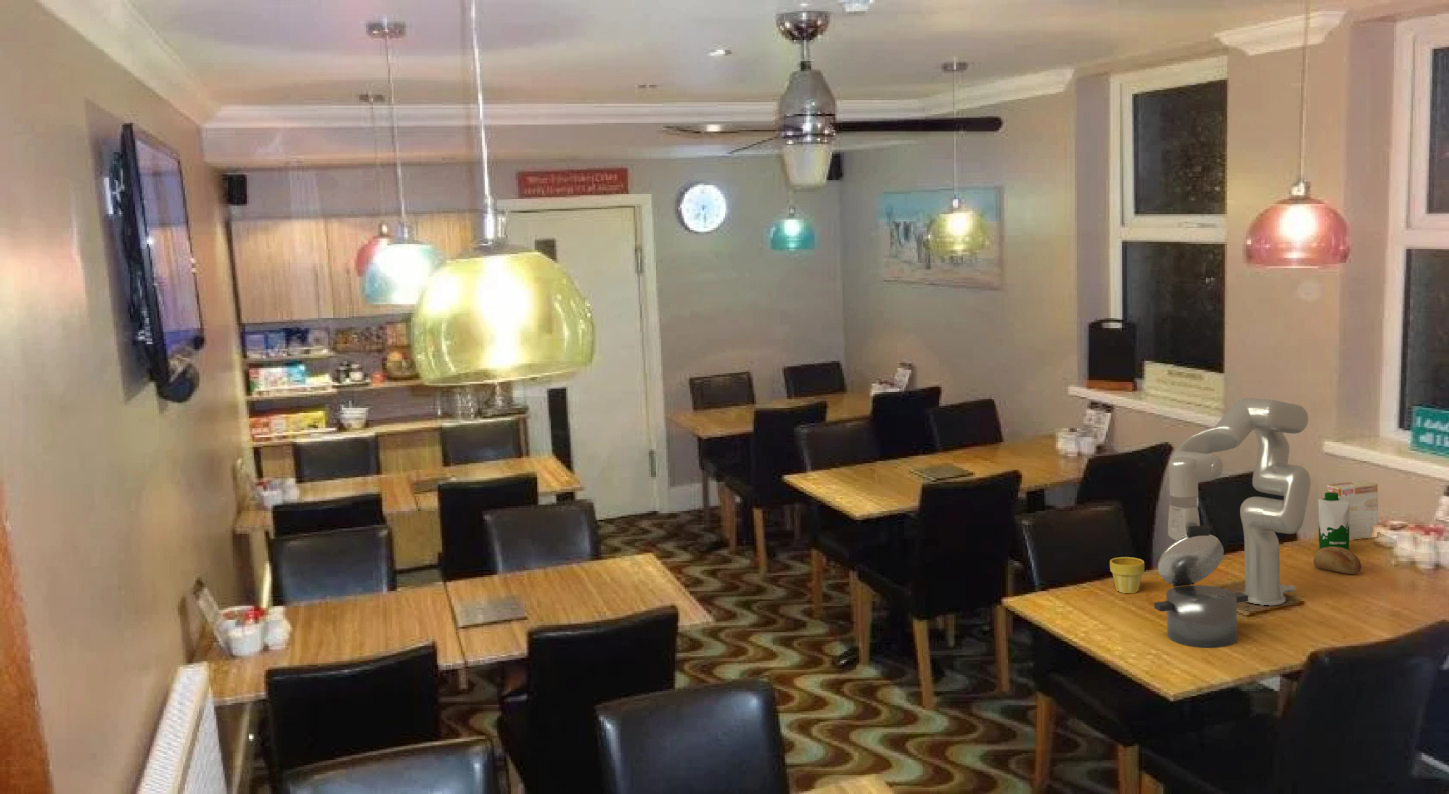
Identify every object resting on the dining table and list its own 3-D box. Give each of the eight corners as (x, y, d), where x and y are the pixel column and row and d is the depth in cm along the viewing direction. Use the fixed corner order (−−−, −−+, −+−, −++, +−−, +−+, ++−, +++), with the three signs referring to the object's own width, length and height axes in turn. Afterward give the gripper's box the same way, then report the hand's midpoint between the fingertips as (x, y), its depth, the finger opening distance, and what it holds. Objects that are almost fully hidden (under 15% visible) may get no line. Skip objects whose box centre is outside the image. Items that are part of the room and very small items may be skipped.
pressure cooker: (1224, 620, 328) (1224, 580, 326) (1264, 641, 309) (1263, 599, 307) (1140, 630, 324) (1138, 589, 323) (1174, 652, 306) (1173, 609, 304)
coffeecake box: (1365, 533, 405) (1364, 479, 403) (1378, 537, 398) (1378, 483, 396) (1326, 537, 404) (1325, 483, 401) (1339, 542, 397) (1339, 487, 394)
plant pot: (1140, 585, 365) (1139, 556, 364) (1149, 595, 355) (1148, 564, 354) (1107, 586, 366) (1106, 557, 365) (1115, 596, 356) (1114, 566, 355)
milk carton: (1343, 548, 389) (1342, 491, 386) (1353, 555, 380) (1352, 497, 377) (1315, 549, 390) (1315, 492, 388) (1325, 556, 381) (1324, 498, 379)
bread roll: (1350, 579, 356) (1350, 554, 355) (1305, 569, 369) (1305, 546, 368) (1368, 573, 361) (1368, 549, 360) (1323, 564, 374) (1322, 540, 373)
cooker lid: (1214, 583, 325) (1208, 575, 327) (1233, 526, 312) (1227, 518, 315) (1153, 590, 322) (1148, 582, 325) (1169, 532, 310) (1164, 525, 313)
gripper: (1158, 497, 326) (1160, 558, 328) (1185, 508, 311) (1187, 572, 314) (1182, 494, 327) (1184, 556, 329) (1210, 505, 312) (1212, 569, 315)
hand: (1185, 564), depth 321 cm, fingers closed
